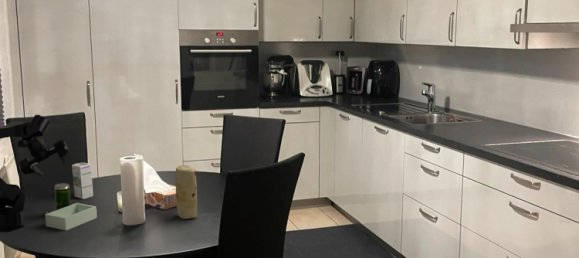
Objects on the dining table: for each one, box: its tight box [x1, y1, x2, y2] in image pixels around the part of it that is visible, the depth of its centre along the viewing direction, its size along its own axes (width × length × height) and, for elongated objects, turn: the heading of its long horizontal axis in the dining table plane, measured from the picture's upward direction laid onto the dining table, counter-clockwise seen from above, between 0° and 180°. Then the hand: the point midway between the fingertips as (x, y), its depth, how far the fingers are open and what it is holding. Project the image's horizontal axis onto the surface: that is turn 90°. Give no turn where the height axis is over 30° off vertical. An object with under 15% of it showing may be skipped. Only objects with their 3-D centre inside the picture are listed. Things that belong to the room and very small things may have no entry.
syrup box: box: [71, 161, 94, 200], centre depth 237 cm, size 6×6×14 cm
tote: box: [44, 202, 98, 231], centre depth 207 cm, size 15×10×4 cm, turn 155°
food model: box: [175, 164, 198, 220], centre depth 212 cm, size 10×7×20 cm
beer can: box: [54, 182, 72, 211], centre depth 214 cm, size 5×5×12 cm
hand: (54, 169), depth 222 cm, fingers open, 9 cm apart
